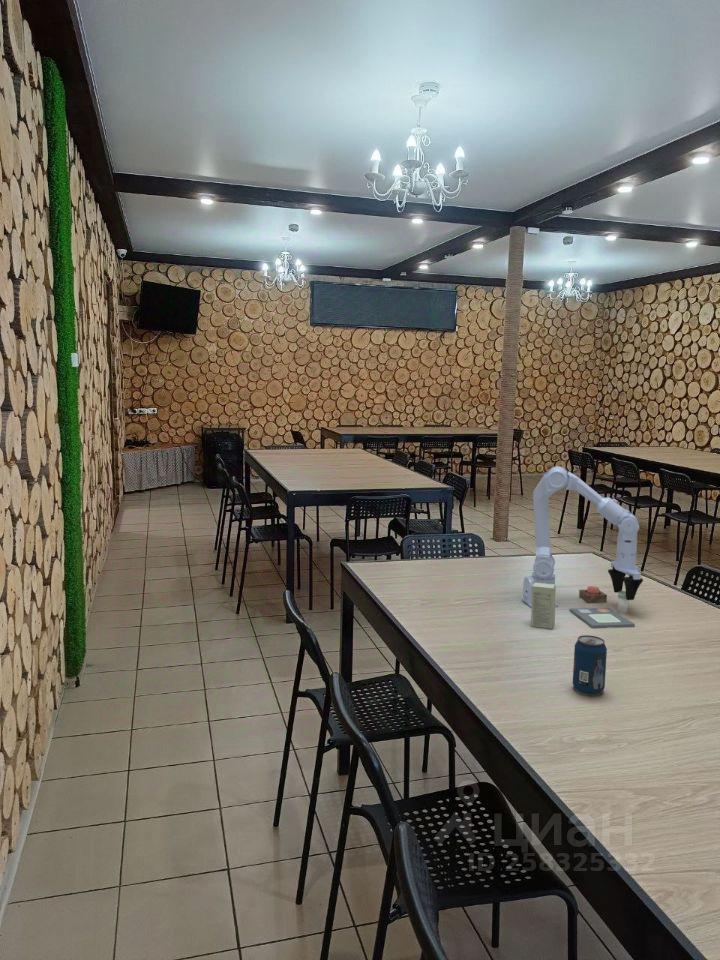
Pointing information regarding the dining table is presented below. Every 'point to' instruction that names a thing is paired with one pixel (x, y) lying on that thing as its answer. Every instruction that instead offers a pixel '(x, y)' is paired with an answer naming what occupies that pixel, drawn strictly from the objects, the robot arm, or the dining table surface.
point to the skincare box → (543, 605)
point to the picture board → (601, 617)
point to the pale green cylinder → (622, 602)
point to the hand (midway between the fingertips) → (623, 595)
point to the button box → (593, 597)
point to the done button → (592, 590)
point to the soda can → (589, 665)
